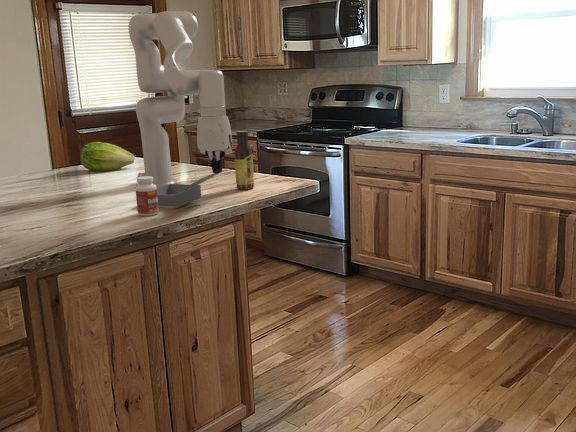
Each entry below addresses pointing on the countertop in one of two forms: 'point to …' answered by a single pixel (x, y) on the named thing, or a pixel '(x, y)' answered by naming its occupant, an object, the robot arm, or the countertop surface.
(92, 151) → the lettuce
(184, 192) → the box
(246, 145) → the sauce bottle
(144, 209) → the pill bottle
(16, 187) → the countertop surface
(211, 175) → the lid
